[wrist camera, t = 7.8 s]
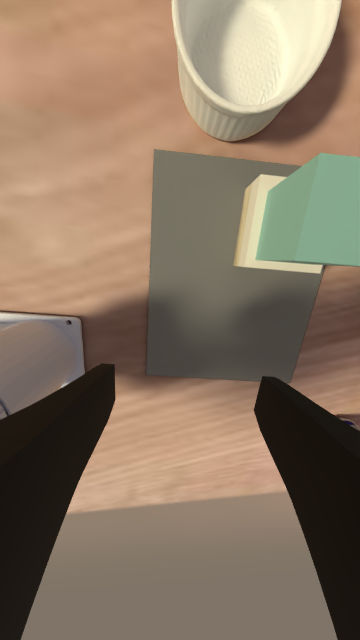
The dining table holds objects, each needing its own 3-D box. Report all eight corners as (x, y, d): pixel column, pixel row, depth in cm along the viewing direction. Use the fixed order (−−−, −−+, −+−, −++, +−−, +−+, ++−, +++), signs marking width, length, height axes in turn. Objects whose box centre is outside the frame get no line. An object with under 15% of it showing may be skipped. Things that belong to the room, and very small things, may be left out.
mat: (146, 373, 21) (146, 375, 21) (154, 151, 15) (154, 149, 15) (288, 381, 22) (290, 383, 22) (349, 173, 16) (353, 171, 16)
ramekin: (165, -6, 13) (161, -135, 8) (300, -20, 13) (361, -156, 8) (178, 157, 15) (179, 119, 11) (289, 146, 15) (332, 104, 11)
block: (255, 259, 15) (294, 260, 10) (267, 191, 13) (320, 152, 8) (312, 264, 15) (378, 267, 10) (331, 197, 13) (417, 163, 9)
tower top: (238, 266, 16) (244, 267, 15) (252, 182, 14) (260, 174, 13) (307, 272, 16) (320, 273, 15) (329, 191, 15) (346, 183, 13)
